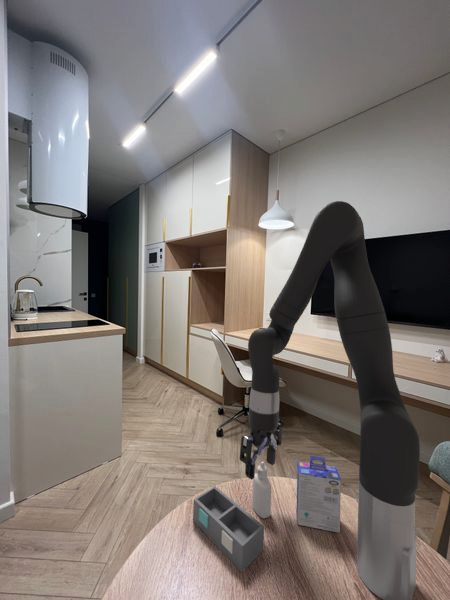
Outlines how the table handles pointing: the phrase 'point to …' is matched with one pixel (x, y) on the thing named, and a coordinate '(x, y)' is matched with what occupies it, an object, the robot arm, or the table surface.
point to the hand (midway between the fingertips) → (260, 469)
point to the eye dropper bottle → (261, 492)
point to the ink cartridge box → (318, 495)
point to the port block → (229, 527)
